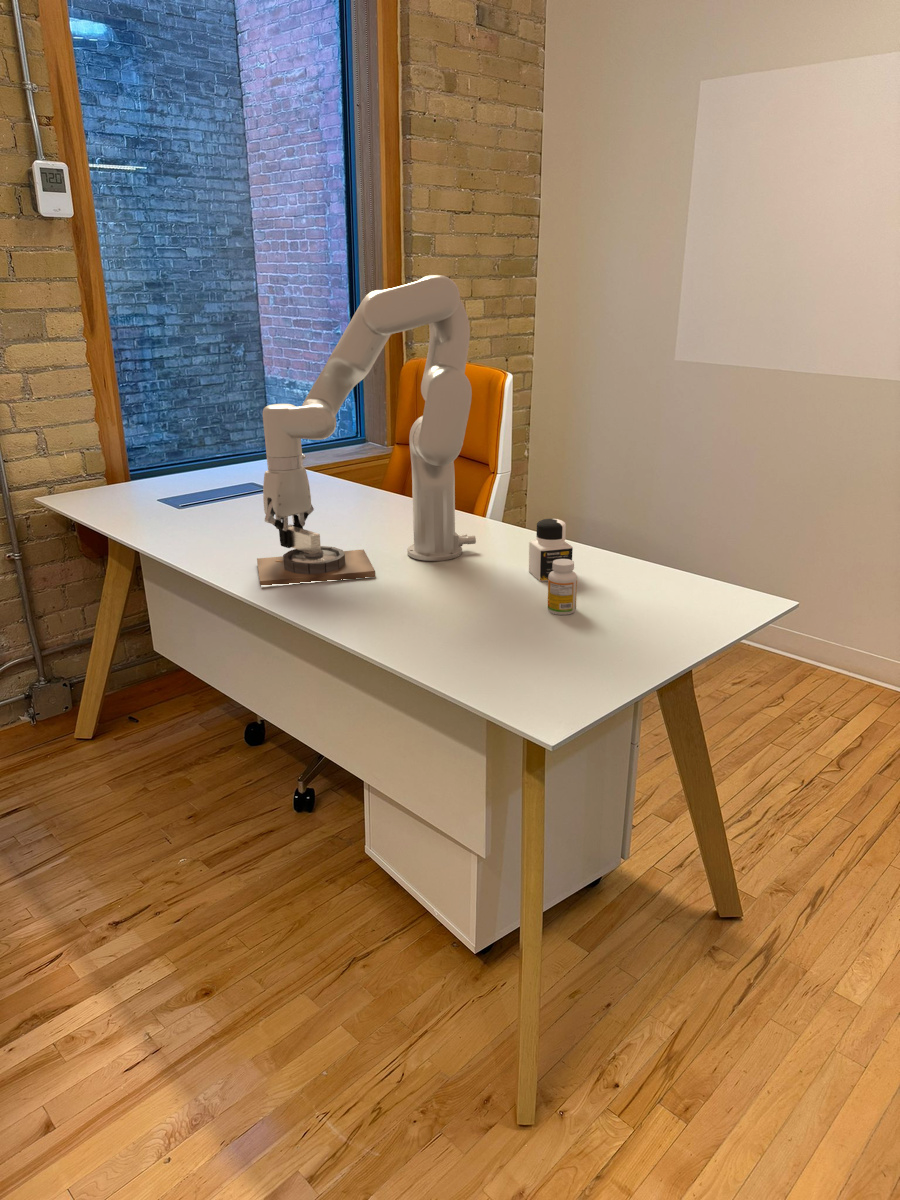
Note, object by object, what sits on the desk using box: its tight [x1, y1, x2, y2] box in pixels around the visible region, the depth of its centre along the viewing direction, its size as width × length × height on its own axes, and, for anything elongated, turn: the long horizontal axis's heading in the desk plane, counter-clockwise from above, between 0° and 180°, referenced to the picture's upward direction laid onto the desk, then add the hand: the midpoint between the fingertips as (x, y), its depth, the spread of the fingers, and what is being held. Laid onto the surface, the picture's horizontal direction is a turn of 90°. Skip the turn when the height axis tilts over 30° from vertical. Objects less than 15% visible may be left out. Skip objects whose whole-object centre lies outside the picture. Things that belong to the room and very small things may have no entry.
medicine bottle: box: [528, 518, 574, 583], centre depth 181 cm, size 7×7×12 cm
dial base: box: [256, 545, 376, 585], centre depth 187 cm, size 24×16×4 cm
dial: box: [288, 524, 337, 563], centre depth 188 cm, size 15×10×7 cm, turn 45°
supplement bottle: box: [547, 559, 578, 616], centre depth 162 cm, size 5×5×10 cm
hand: (292, 544), depth 191 cm, fingers closed on dial, 2 cm apart
